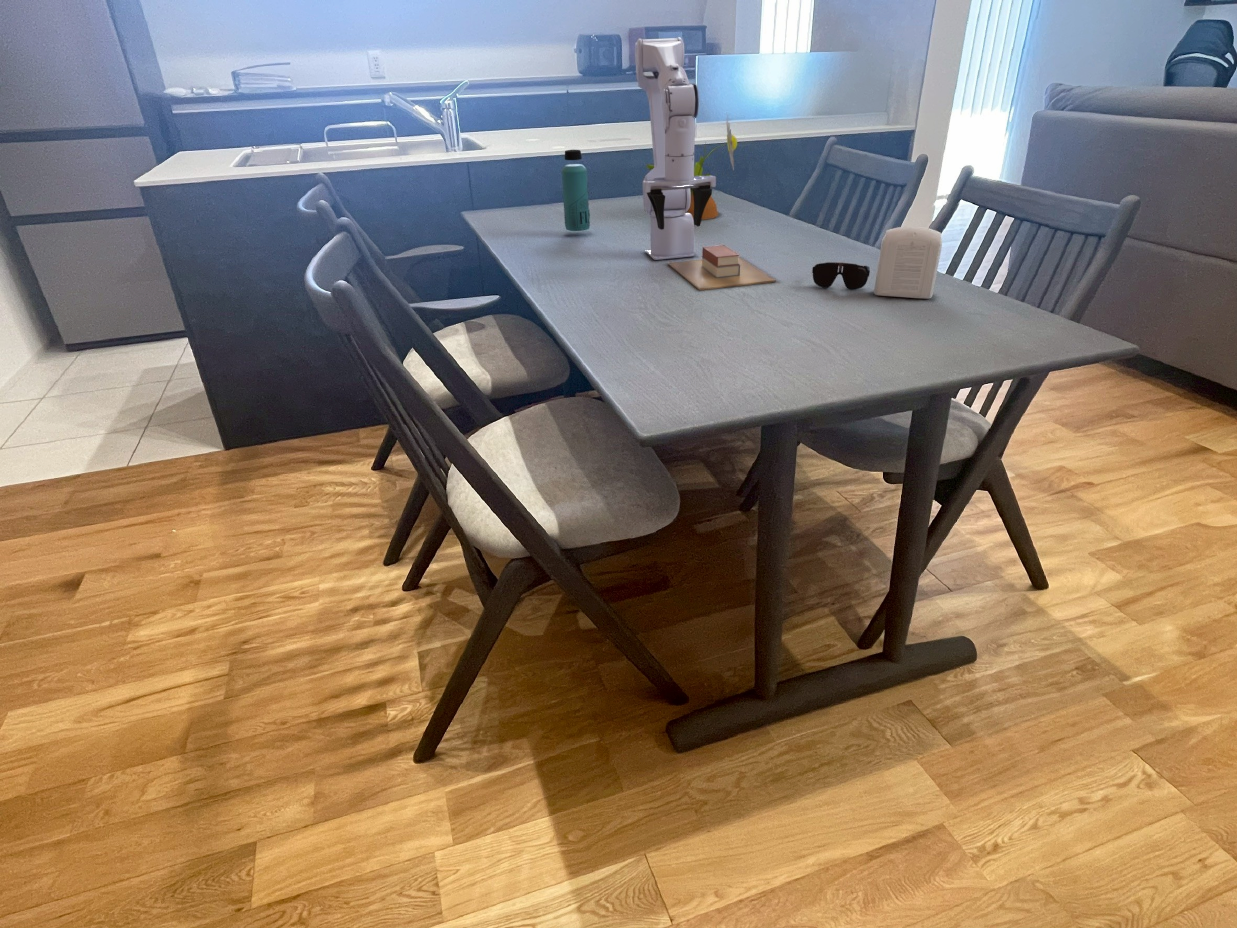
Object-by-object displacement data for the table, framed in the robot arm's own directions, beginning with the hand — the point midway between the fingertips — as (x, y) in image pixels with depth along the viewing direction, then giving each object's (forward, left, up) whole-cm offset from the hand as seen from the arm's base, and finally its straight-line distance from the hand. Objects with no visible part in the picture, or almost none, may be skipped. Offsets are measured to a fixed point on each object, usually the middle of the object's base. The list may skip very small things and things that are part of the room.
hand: (678, 227), depth 150 cm
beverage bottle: (+13, -43, -10) cm, 46 cm away
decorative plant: (-21, -55, -10) cm, 60 cm away
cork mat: (-8, +3, -9) cm, 13 cm away
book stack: (-8, +3, -9) cm, 12 cm away
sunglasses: (-28, +17, -10) cm, 34 cm away
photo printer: (-34, +29, -10) cm, 46 cm away
